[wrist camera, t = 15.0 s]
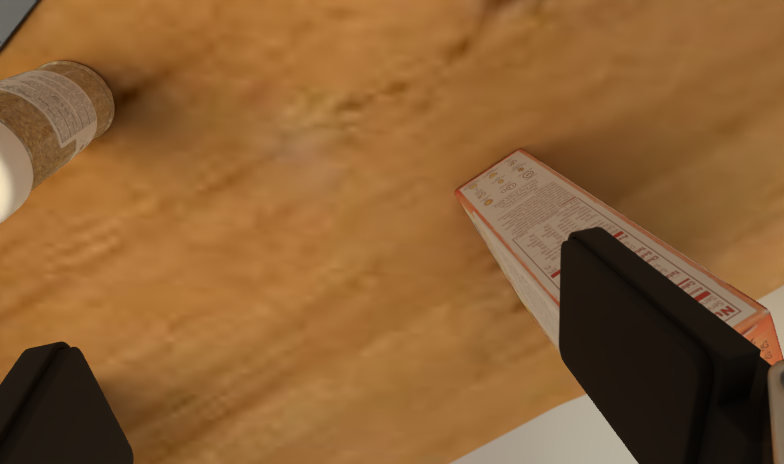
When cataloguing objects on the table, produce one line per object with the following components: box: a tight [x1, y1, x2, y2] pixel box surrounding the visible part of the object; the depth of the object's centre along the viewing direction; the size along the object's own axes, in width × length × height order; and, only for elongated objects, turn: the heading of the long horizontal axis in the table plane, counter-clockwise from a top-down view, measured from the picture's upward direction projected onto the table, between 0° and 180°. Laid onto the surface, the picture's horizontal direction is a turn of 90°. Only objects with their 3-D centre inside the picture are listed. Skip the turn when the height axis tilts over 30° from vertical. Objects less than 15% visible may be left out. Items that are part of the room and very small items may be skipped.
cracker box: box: [454, 149, 783, 365], centre depth 30 cm, size 14×6×21 cm, turn 32°
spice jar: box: [0, 61, 115, 223], centre depth 23 cm, size 5×5×13 cm
